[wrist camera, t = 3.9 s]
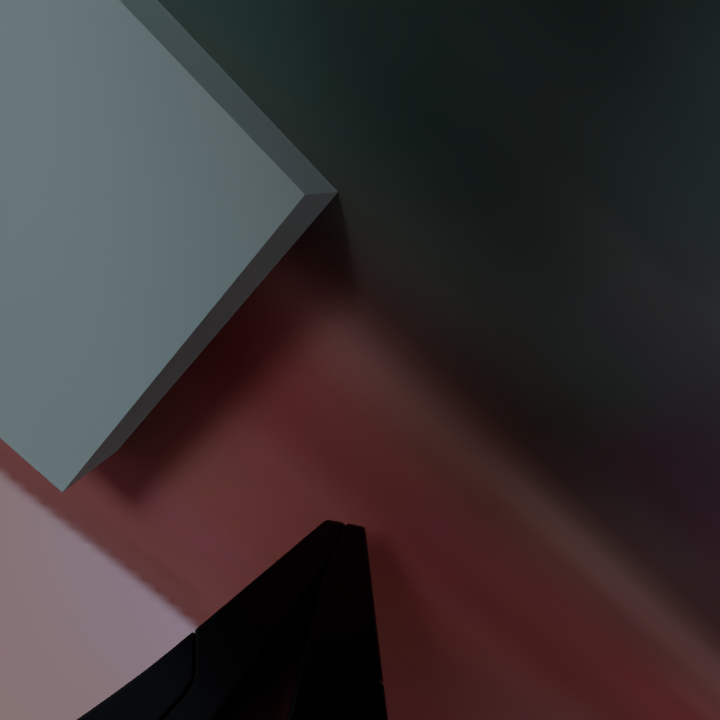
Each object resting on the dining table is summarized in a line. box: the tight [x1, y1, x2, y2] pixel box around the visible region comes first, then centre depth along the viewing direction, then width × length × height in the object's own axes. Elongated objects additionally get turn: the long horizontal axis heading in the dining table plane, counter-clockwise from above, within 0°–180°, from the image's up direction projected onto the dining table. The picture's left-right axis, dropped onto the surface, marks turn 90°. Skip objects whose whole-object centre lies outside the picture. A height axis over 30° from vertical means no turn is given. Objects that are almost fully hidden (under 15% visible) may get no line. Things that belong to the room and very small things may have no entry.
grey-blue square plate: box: [0, 0, 338, 492], centre depth 9 cm, size 10×9×2 cm
